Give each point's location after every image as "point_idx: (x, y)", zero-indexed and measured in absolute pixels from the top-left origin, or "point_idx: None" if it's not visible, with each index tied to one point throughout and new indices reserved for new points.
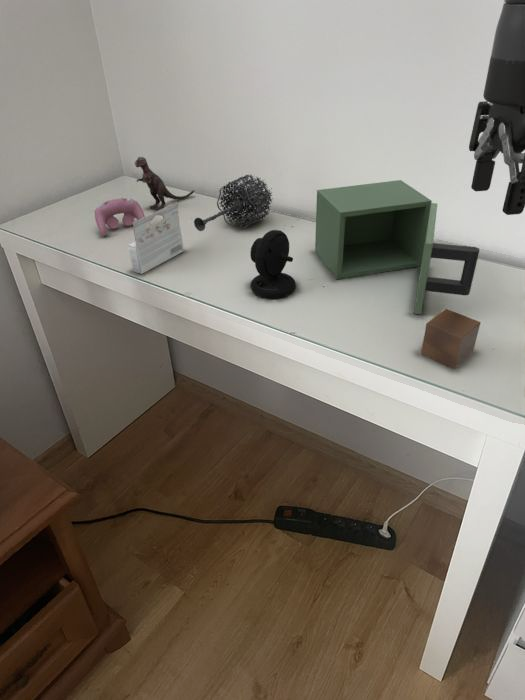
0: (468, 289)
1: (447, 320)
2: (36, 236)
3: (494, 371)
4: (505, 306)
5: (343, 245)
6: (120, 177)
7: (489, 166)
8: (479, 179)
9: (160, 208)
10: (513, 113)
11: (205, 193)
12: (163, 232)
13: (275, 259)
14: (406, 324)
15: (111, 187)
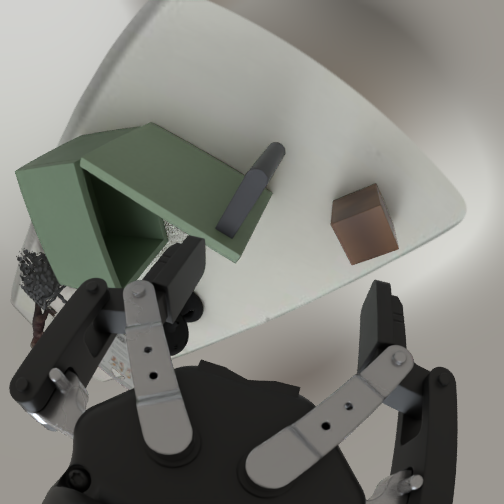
0: (283, 153)
1: (358, 240)
2: (107, 376)
3: (416, 184)
4: (283, 63)
5: (143, 263)
6: (17, 308)
7: (175, 289)
8: (191, 281)
9: (53, 312)
10: None
11: (20, 270)
12: (119, 360)
13: (177, 333)
14: (287, 219)
15: (32, 319)
